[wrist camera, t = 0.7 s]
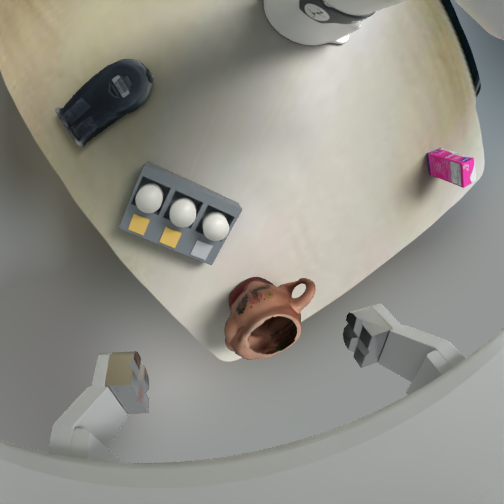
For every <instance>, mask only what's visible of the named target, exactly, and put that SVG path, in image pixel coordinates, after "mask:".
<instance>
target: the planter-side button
mask: <svg viewBox="0 0 504 504" xmlns="http://www.w3.org/2000/svg"><path fill="white" fill-rule="evenodd" d="M202 226H203V232H204V235H205V236H206V238H208V239H209V240H212V241H220V240H222V239H224V238H225V237H226V236H227V234H228V232H229V224H228V222H227V220H226V217H225V216H224V215H223V214H222V213H220V212H210V213H208V214H207V215H206V216H205V217H204V219H203V221H202Z"/></svg>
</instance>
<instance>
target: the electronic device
mask: <svg viewBox="0 0 504 504" xmlns="http://www.w3.org/2000/svg"><path fill="white" fill-rule="evenodd" d="M146 76H147V77H146ZM153 77H154V76H153V75H152V74H151V73H150V72H149V70H148V69H147V68H146V67H145V66H144V65H143V64H142V63H140V62H139V61H137V60H132V59H123V60H120V61H118V62H115V63H113V64H111V65H109V66H107V67H105V68H104V69H103V70H101V71H100V72H99V73H98V74H96V75H95V76H93V77H92V78H91V79H90V80H89V81H88V82H87V83H86V84H85V85H84V86H82V87H81V89H79V90H78V91H77V92H76V93H75V95H73V97H72V98H71V99H70V100H69V101H68V103H67V104H66V105H65V106H64V108H56V109H55V111H56V113H57V114H58V116H59V118H60V119H61V121H62V122H63V124H64V126H65V128H66V129H67V131H68V132H69V133H70V135H71V137H72V138H73V140H74V141H75V143H76V144H77V145H79V146H80V147H84V146H85V144H86V143H87V142H88V141H90V140H91V139H92V138H93V137H95V136H96V135H97V134H99V133H100V132H102V131H103V130H104V129H105V128H107V127H108V126H110V125H111V124H112V123H114V122H115V121H117V120H118V119H120V118H121V117H122V116H124V115H125V114H128V113H130V112H133V111H135V110H136V109H138V108H139V107H140V106H142V105H143V104H144V102H145V101H146V100H147V99H148V97H149V95H150V92H151V89H152V81H153V79H152V78H153ZM147 78H148V79H147Z"/></svg>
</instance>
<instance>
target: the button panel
mask: <svg viewBox="0 0 504 504" xmlns="http://www.w3.org/2000/svg"><path fill="white" fill-rule="evenodd" d="M148 183H154V184H156V185H158V186H159V187H160V188H161V189H162V191H163V200H162V204H161V206H160V208H159V209H158V210H157V211H155V212H153V213H144V212H142V211H140V210H139V209H138V207H137V205H136V201H135V199H136V195H137V193H138V192H139V190H140V189H141V187H142V186H144V185H145V184H148ZM181 197H185V198H189V199H190V200H192V201H193V202H194V204H195V207H196V219H195V221H194V222H193V223H192V224H191V225H190V226H188V227H178V226H176V225H174V224H173V223H172V222H171V220H170V215H169V214H170V208H171V205H172V203H173V202H174V201H175V200H176V199H178V198H181ZM241 211H242V208H241V207H240V205H239V203H237V202H235V201H232V200H230V199H228V198H226V197H224V196H222V195H220V194H218V193H215V192H213V191H211V190H209V189H207V188H205V187H203V186H200V185H198V184H196V183H194V182H192V181H189V180H187V179H185V178H183V177H181V176H178V175H176V174H174V173H172V172H169V171H167V170H165V169H162V168H160V167H158V166H156V165H153V164H151V163H149V162H147V163H146V164H145V165H144V166H143V169H142V171H141V173H140V176H139V178H138V180H137V183H136V185H135V187H134V190H133V192H132V195H131V197H130V200H129V202H128V205H127V208H126V210H125V213H124V216H123V218H122V221H121V224H120V227H119V229H122V230H124V231H126V232H129V233H131V234H134V235H136V236H139V237H141V238H144V239H146V240H148V241H151V242H153V243H156V244H158V245H161V246H163V247H166V248H169V249H171V250H174V251H176V252H179V253H181V254H184V255H186V256H189V257H191V258H194V259H197V260H199V261H202V262H204V263H207V264H210V265H212V264H213V262H214V260H215V258H216V256H217V254H218V253H219V251H220V249H221V247H222V245H223V243H224V242H225V240H226V238H227V236H228V234H229V233H230V231H231V229H232V227H233V225H234V224H235V222H236V220H237V218H238V216H239V215H240V213H241ZM210 212H220V213H222V214H223V215H224V216H225V217H226V220H227V222H228V224H229V232H228V234H227V236H226V237H225V238H224V239H222V240H220V241H212V240H209V239H208V238H206V236H205V235H204V232H203V226H202V221H203V219H204V217H205V216H206V215H207V214H208V213H210Z"/></svg>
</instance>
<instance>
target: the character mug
mask: <svg viewBox="0 0 504 504" xmlns="http://www.w3.org/2000/svg"><path fill="white" fill-rule="evenodd" d="M301 283H303V284H305V285H306V290H305V292H304V293H303V294H302V295H301V296H300V297H298V298H295V299H293V298H292V296H291V295H292V291H293V289H294V288H295V287H296V286H297V285H299V284H301ZM314 294H315V284H314V282H313V281H311V280H309V279H307V278H302V279H299V280H298V281H295V282H291V283H287V284H283V285H280V286H279V287H276V286H274V285H273V284H272V283H271V282H269V281H267V280H265V279H263V278H260V277H252V278H249V279H247V280H245V281H243V282H242V283H240V284H239V285H238V286H237V287H236V288H235V289H234V290H233V291H232V292H231V294H230V296H229V306H230V309H231V315H230V317H229V318H228V320H227V322H226V325H225V336H226V338H225V344H226V346H227V347H228V348H229V349H230V350H231V351H235V353H236V354H238V355H239V356H241V357H243V358H244V359H247V360H251V359H259V358H269V357H271V356H273V355H275V354H277V353H279V352H281V351H283V350H285V349H287V348H289V347H290V346H291V345H292V344H294V343H295V342H296V340H297V339H298V338H299V336H300V333H301V314H300V311H301V310H302V309H303V308H304V307H305V306H307V305H308V303H309V302H310V301H311V299H312V298H313V296H314Z"/></svg>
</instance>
